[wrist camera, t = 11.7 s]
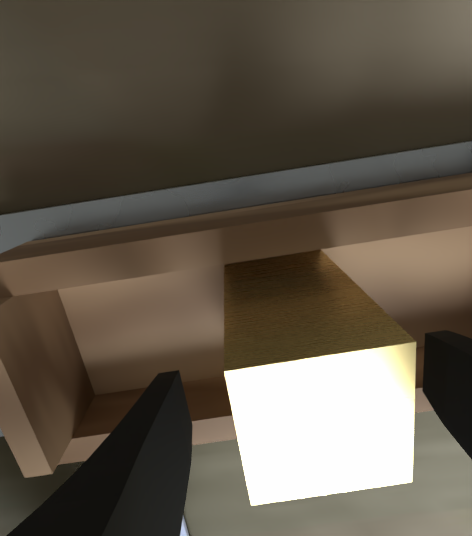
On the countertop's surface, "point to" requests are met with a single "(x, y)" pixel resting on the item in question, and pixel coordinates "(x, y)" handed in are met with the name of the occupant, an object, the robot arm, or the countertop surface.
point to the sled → (204, 305)
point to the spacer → (315, 380)
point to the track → (234, 193)
